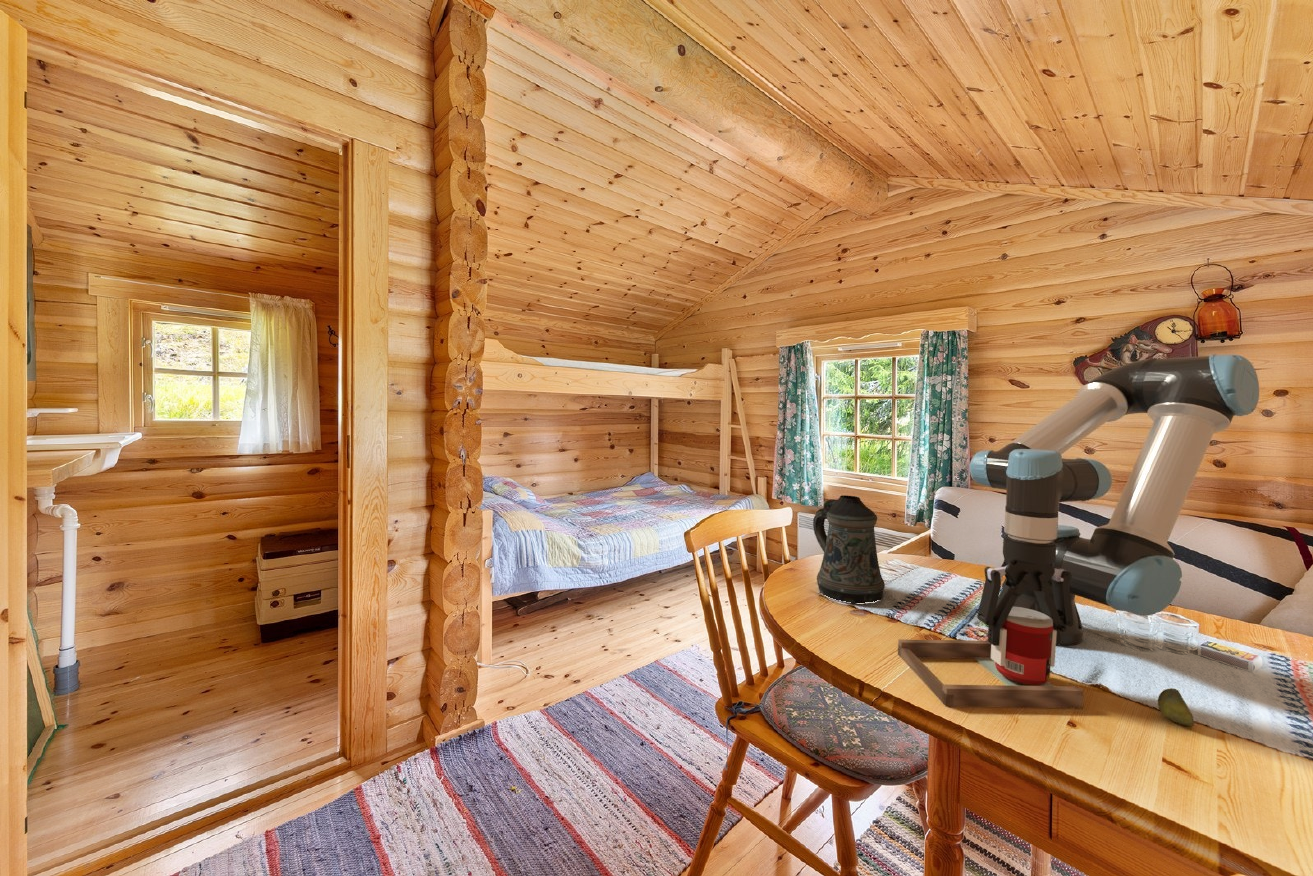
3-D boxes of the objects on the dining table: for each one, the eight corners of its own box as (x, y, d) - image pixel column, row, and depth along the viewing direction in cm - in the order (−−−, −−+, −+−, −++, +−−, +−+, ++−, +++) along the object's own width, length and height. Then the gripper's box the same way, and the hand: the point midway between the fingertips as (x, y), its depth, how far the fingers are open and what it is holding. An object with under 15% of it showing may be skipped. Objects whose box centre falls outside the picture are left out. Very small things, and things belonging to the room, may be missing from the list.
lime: (1169, 711, 81) (1172, 681, 81) (1206, 730, 77) (1209, 698, 76) (1147, 713, 81) (1149, 683, 80) (1183, 733, 76) (1185, 701, 76)
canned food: (1059, 688, 86) (1063, 626, 85) (1006, 683, 87) (1010, 621, 87) (1035, 665, 93) (1038, 608, 93) (987, 661, 95) (990, 604, 94)
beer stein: (877, 610, 120) (882, 507, 118) (797, 593, 130) (799, 498, 129) (889, 589, 134) (892, 496, 132) (815, 575, 144) (817, 488, 143)
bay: (1010, 655, 99) (1011, 641, 99) (1082, 708, 82) (1083, 690, 82) (897, 654, 99) (898, 639, 99) (945, 706, 82) (946, 688, 82)
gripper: (1072, 532, 92) (1064, 652, 94) (957, 531, 92) (951, 651, 94) (1108, 544, 85) (1098, 674, 86) (983, 542, 85) (976, 672, 87)
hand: (1022, 662), depth 90 cm, fingers closed on canned food, 8 cm apart
